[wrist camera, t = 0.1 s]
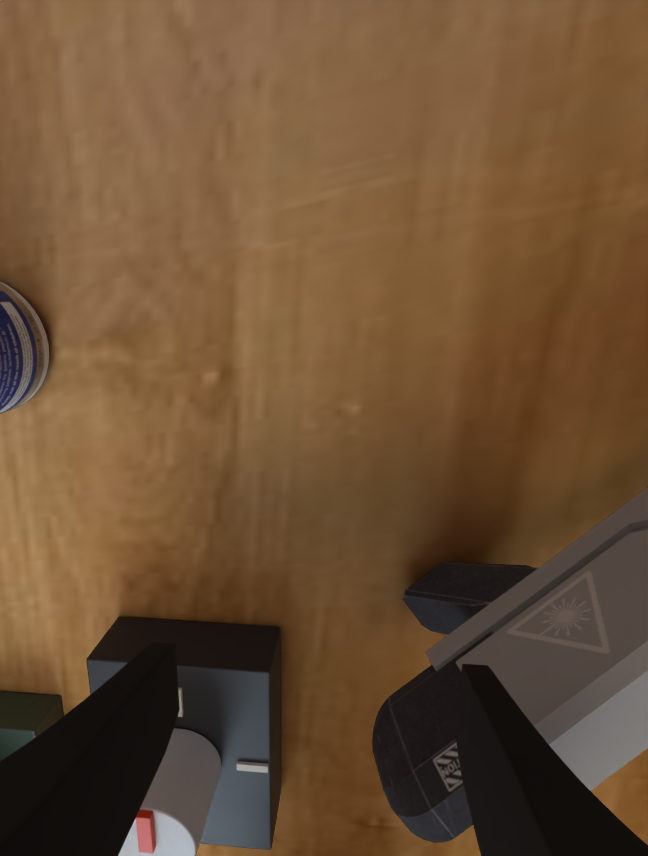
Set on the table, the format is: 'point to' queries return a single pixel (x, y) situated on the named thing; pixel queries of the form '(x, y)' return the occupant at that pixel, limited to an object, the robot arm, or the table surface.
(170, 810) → the dimmer knob
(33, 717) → the switch box
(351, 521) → the table surface
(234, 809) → the dimmer console
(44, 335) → the pill bottle
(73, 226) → the table surface
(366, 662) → the table surface
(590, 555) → the gun
